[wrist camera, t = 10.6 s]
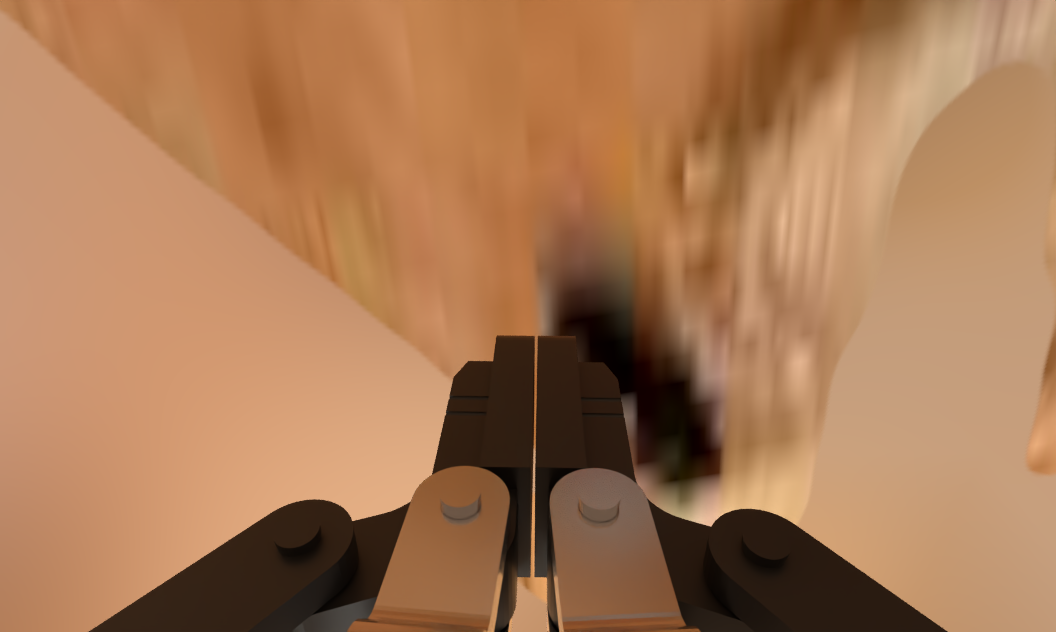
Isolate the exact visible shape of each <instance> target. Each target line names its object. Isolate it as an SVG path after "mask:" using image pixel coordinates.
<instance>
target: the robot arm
mask: <svg viewBox="0 0 1056 632" xmlns="http://www.w3.org/2000/svg"><path fill="white" fill-rule="evenodd" d="M534 354H535V337H534V336H497V337H496V344H495V351H494V359H493V361H468V362H467V363H466V364H465V365H464V367H463V368H462V369H461V370H460V371H459V372H458V373H457V374H456V375H455V376H454V378H453V383H452V387H451V392H450V399H449V401H448V406H447V410H446V416H445V419H444V424H443V428H442V432H441V437H440V441H439V446H438V450H437V455H436V459H435V464H434V468H433V473H432V475H431V476H429V477H428V478H427V479H425V480H424V481H423V482H422V483H421V484H420V485H419V487H418V488H417V489H416V491H415V493H414V495H413V497H412V500H411V502H409V503H408V504H406V505H404V506H402V507H400V508H398V509H396V510H394V511H391V512H387V513H384V514H380V515H376V516H372V517H368V518H364V519H360V520H356V521H352V520H351V517H350V515H349V514H348V512H347V511H346V510H345V509H344V508H342V507H341V506H339V505H337V504H335V503H333V502H330V501H325V500H304V501H299V502H295V503H291V504H288V505H286V506H283V507H281V508H279V509H277V510H276V511H274V512H272V513H270V514H269V515H267V516H266V517H264V518H263V519H261V520H260V521H258V522H256V523H255V524H253V525H252V526H250V527H249V528H247V529H246V530H244V531H243V532H241V533H240V534H238V535H236V536H235V537H233V538H232V539H230V540H229V541H227V542H226V543H224V544H223V545H221V546H220V547H218V548H217V549H215V550H213V551H212V552H211V553H209V554H207V555H206V556H204V557H203V558H201V559H200V560H198V561H197V562H195V563H194V564H192V565H190V566H189V567H187V568H186V569H184V570H183V571H181V572H180V573H178V574H177V575H175V576H174V577H172V578H171V579H169V580H167V581H166V582H164V583H163V584H162V585H160V586H158V587H157V588H155V589H154V590H152V591H151V592H149V593H147V594H146V595H144V596H143V597H141V598H140V599H138V600H137V601H135V602H134V603H132V604H131V605H129V606H127V607H126V608H124V609H123V610H121V611H120V612H118V613H117V614H115V615H114V616H112V617H111V618H109V619H108V620H106V621H104V622H103V623H102V624H100V625H98V626H97V627H95V628H94V629H92V630H91V631H89V632H512V616H513V613H514V611H515V607H516V595H517V577H530V572H531V530H532V488H533V486H532V485H533V446H534ZM535 577H547V632H947V631H946V630H944V629H943V628H941V627H940V626H939V625H937V624H936V623H934V622H933V621H932V620H930V619H929V618H927V617H926V616H924V615H923V614H921V613H920V612H919V611H917V610H916V609H914V608H913V607H912V606H910V605H909V604H907V603H906V602H904V601H903V600H901V599H900V598H899V597H897V596H896V595H895V594H893V593H892V592H890V591H889V590H887V589H886V588H885V587H883V586H882V585H880V584H879V583H877V582H876V581H875V580H873V579H872V578H870V577H869V576H867V575H866V574H865V573H863V572H861V571H860V570H859V569H857V568H856V567H855V566H853V565H852V564H850V563H849V562H848V561H846V560H844V559H843V558H842V557H840V556H839V555H837V554H836V553H835V552H833V551H832V550H830V549H829V548H828V547H826V546H825V545H823V544H822V543H820V542H819V541H817V540H816V539H814V538H813V537H812V536H810V535H809V534H808V533H806V532H805V531H803V530H802V529H800V528H799V527H798V526H796V525H795V524H793V523H792V522H790V521H788V520H787V519H785V518H783V517H780V516H778V515H776V514H773V513H770V512H767V511H762V510H756V509H739V510H734V511H731V512H728V513H725V514H724V515H722V516H720V517H719V518H718V519H717V520H716V521H715V522H714V524H713V525H712V527H710V526H706V525H703V524H699V523H696V522H692V521H688V520H685V519H682V518H679V517H676V516H673V515H671V514H669V513H667V512H665V511H663V510H661V509H660V508H658V507H657V506H655V505H654V504H653V503H652V502H650V501H649V500H648V499H647V498H646V495H645V494H644V492H643V491H642V489H641V488H640V487H639V486H638V485H637V483H636V479H635V475H634V469H633V464H632V458H631V452H630V447H629V441H628V435H627V430H626V424H625V418H624V413H623V407H622V402H621V396H620V390H619V384H618V379H617V378H616V377H615V376H614V374H613V373H612V372H611V371H610V370H609V369H608V367H607V366H606V365H605V364H604V363H585V362H578V357H577V345H576V337H575V336H538V357H537V410H536V464H535Z"/></svg>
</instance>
